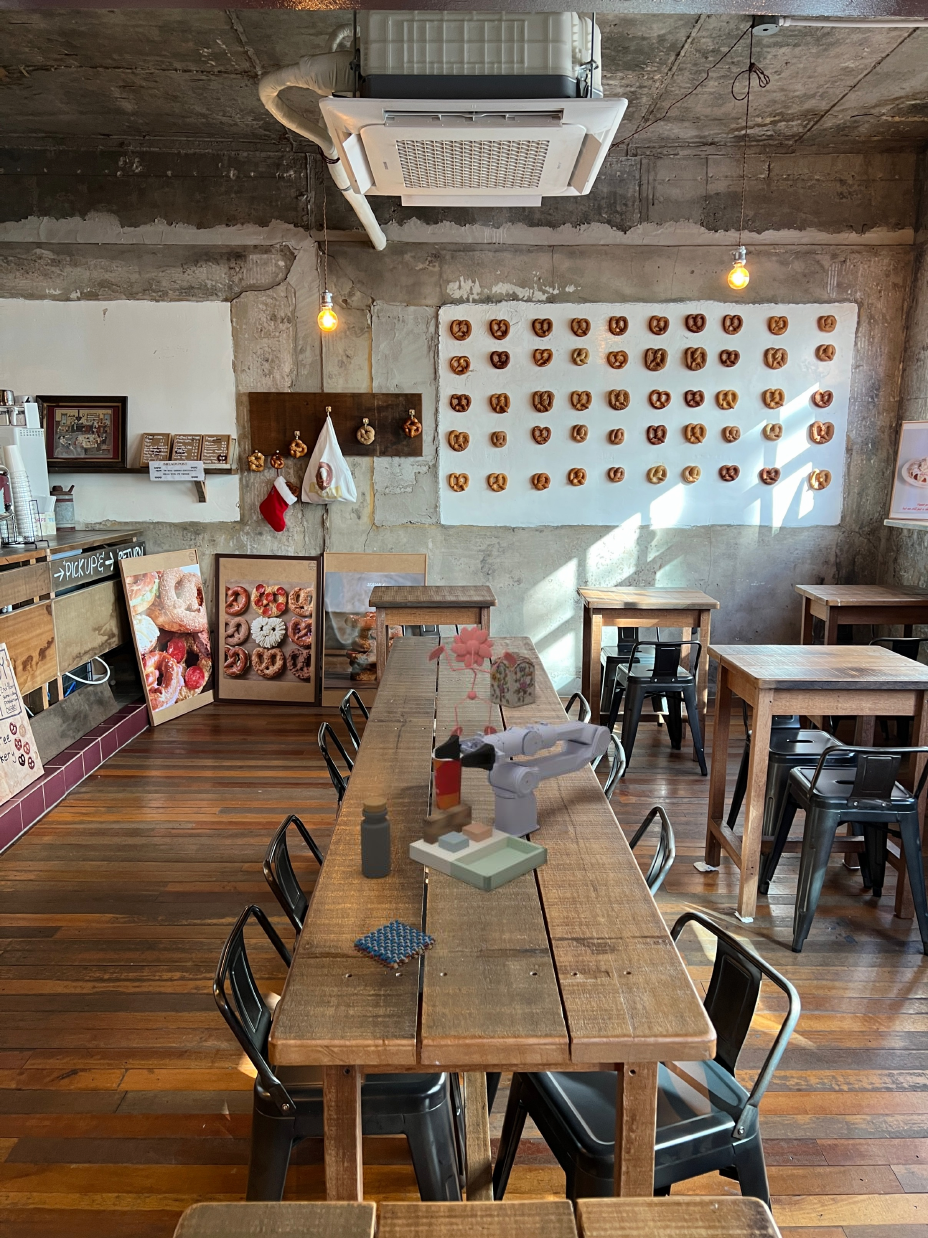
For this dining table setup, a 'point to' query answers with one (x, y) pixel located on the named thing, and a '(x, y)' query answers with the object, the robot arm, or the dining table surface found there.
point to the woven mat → (394, 944)
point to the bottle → (375, 838)
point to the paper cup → (447, 782)
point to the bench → (442, 857)
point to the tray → (501, 864)
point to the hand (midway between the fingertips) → (448, 757)
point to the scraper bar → (446, 822)
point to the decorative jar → (513, 682)
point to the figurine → (472, 661)
